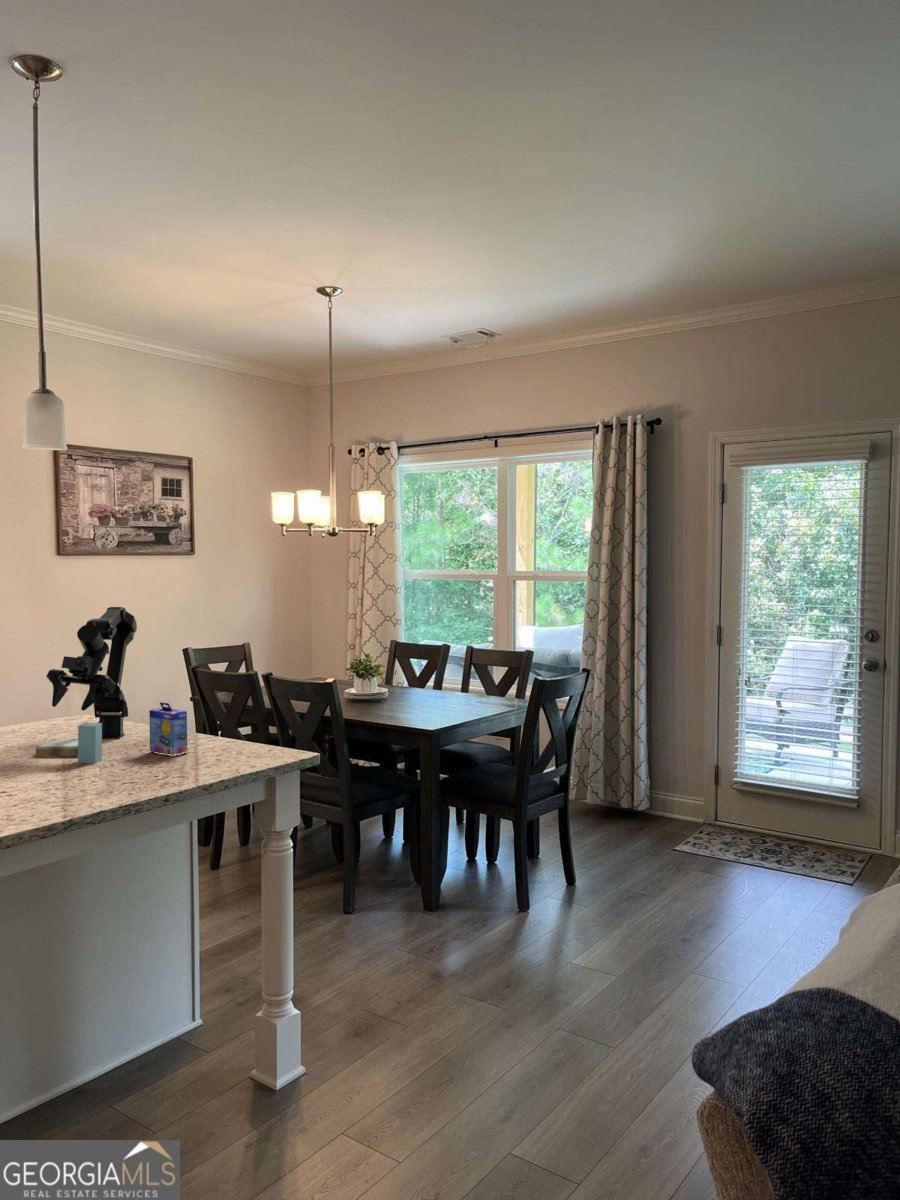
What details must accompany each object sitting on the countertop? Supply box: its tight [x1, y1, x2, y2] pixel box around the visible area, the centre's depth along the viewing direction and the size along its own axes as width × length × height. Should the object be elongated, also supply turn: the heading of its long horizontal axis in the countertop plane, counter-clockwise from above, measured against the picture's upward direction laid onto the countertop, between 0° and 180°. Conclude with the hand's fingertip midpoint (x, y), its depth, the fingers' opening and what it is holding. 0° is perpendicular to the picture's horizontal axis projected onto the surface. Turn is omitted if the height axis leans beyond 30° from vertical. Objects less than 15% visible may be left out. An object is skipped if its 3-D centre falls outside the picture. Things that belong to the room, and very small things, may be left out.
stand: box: [35, 738, 78, 758], centre depth 241 cm, size 12×12×3 cm
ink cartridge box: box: [149, 702, 188, 755], centre depth 242 cm, size 10×6×14 cm, turn 59°
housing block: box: [77, 722, 103, 764], centre depth 230 cm, size 4×4×10 cm
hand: (67, 708), depth 236 cm, fingers open, 9 cm apart
